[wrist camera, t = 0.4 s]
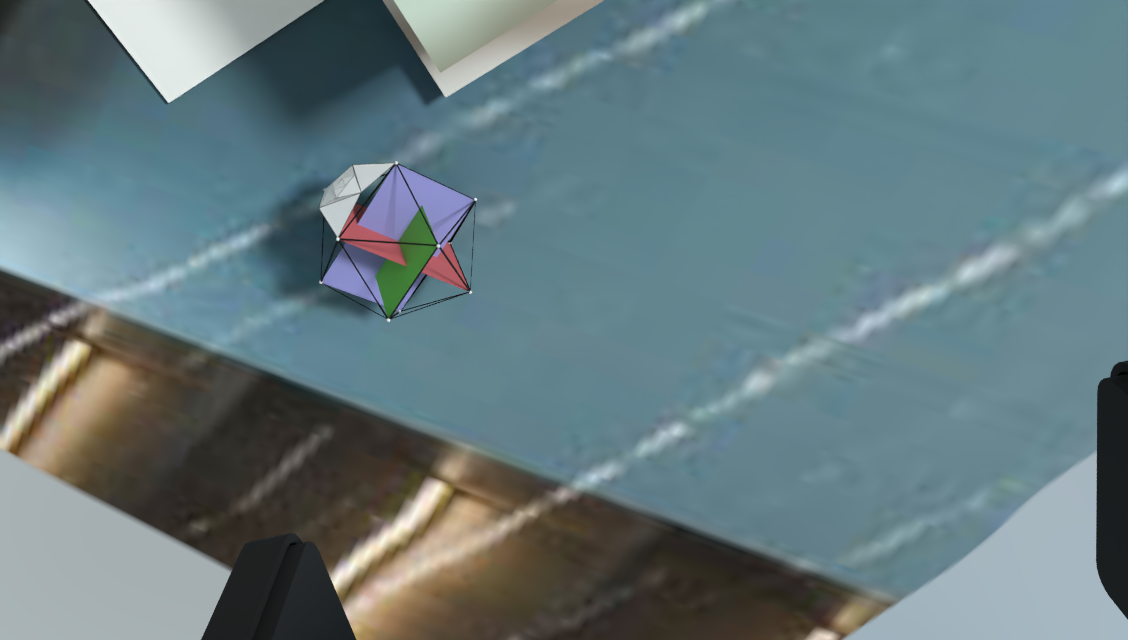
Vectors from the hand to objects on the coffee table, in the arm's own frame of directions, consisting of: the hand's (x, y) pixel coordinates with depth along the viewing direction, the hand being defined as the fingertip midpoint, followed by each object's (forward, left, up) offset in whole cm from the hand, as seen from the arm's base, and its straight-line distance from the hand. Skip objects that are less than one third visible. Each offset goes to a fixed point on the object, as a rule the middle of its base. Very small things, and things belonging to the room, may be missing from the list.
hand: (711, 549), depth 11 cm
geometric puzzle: (+3, -12, -35) cm, 37 cm away
